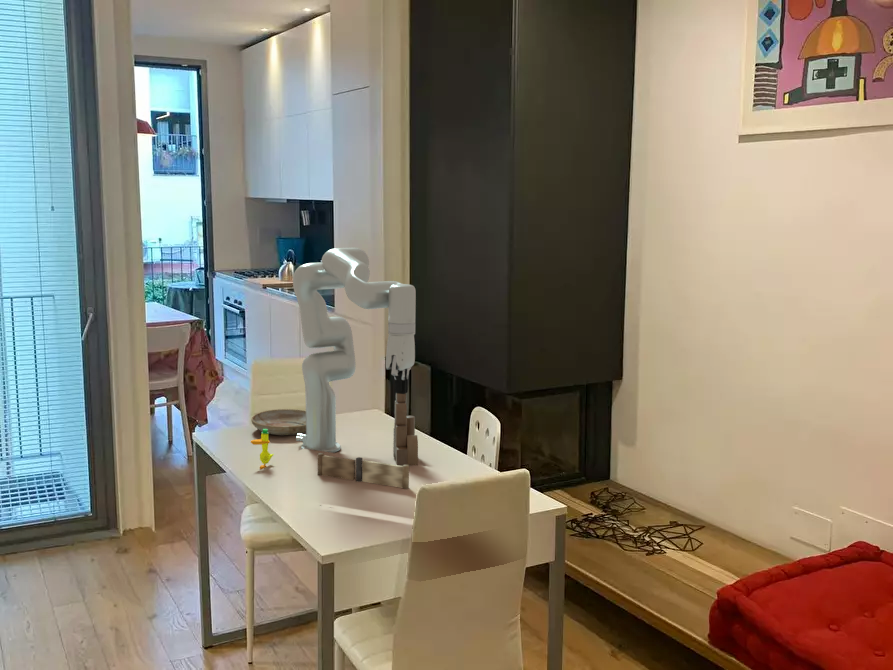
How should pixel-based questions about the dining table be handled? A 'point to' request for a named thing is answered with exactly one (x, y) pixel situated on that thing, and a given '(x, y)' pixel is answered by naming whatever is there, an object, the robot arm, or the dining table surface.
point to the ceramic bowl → (281, 421)
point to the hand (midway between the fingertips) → (401, 392)
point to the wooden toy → (404, 434)
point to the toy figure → (263, 448)
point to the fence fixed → (339, 467)
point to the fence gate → (385, 474)
